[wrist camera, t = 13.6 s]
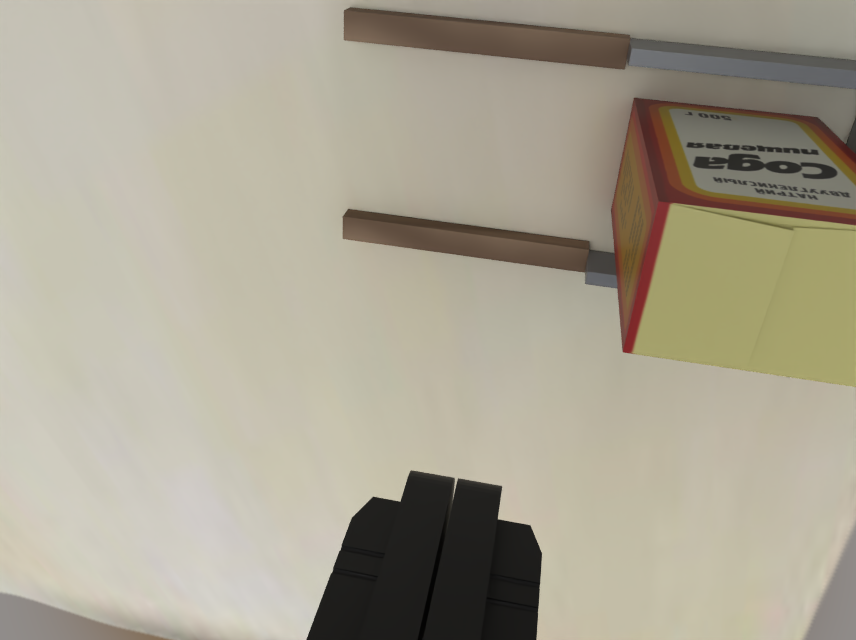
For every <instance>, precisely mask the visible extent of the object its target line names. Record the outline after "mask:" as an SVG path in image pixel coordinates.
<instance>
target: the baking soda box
mask: <svg viewBox="0 0 856 640" xmlns="http://www.w3.org/2000/svg"><path fill="white" fill-rule="evenodd" d="M611 214H612V227H613V239H614V251H615V263H616V276H617V288H618V300H619V312H620V325H621V337H622V349H623V352H625V353H631V354H638V355H645V356H652V357H658V358H665V359H672V360H678V361H685V362H692V363H699V364H705V365H712V366H719V367H725V368H732V369H739V370H745V371H752V372H759V373H766V374H772V375H779V376H786V377H792V378H799V379H806V380H813V381H819V382H826V383H833V384H839V385H846V386H853V387H856V154H855V153H854V152H853V151H852V150H851V149H850V148H849V147H848V146H847V145H846V144H845V143H844V142H843V141H841V140H840V139H839V138H838V137H837V136H836V135H835V134H834V133H833V132H832V131H831V130H830V129H829V128H828V127H827V126H826V125H825V124H824V123H823V122H822V121H821V120H820V119H819V118H818V117H810V116H800V115H791V114H781V113H772V112H762V111H753V110H744V109H734V108H725V107H715V106H706V105H697V104H687V103H678V102H668V101H659V100H649V99H640V98H634V101H633V105H632V110H631V115H630V120H629V125H628V130H627V135H626V140H625V145H624V150H623V155H622V160H621V164H620V169H619V174H618V179H617V184H616V189H615V194H614V199H613V204H612V209H611Z"/></svg>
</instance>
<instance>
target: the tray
mask: <svg viewBox="0 0 856 640" xmlns="http://www.w3.org/2000/svg"><path fill="white" fill-rule="evenodd" d="M627 61H628V65H629V66H638V67H648V68H658V69H667V70H677V71H686V72H696V73H706V74H715V75H725V76H735V77H744V78H754V79H764V80H773V81H783V82H792V83H802V84H812V85H821V86H831V87H841V88H850V89H856V61H855V60H845V59H835V58H825V57H815V56H805V55H795V54H785V53H775V52H765V51H754V50H744V49H734V48H724V47H714V46H704V45H694V44H684V43H674V42H664V41H654V40H644V39H634V38H630V44H629V50H628V55H627ZM846 145H847V146H848V147H849V148H850V149H851V150H852V151H853V152H854V153H855V154H856V119H855V122H854V125H853V127H852V130H851V133H850V136H849V138H848V141H847V144H846ZM585 284H589V285H596V286H604V287H611V288H617V276H616V263H615V253H607V252H600V251H592V250H589V254H588V259H587V264H586V269H585Z"/></svg>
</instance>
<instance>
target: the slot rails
mask: <svg viewBox="0 0 856 640" xmlns="http://www.w3.org/2000/svg"><path fill="white" fill-rule="evenodd" d="M344 40H347V41H357V42H367V43H376V44H386V45H395V46H405V47H414V48H424V49H433V50H443V51H453V52H462V53H472V54H481V55H491V56H500V57H510V58H520V59H529V60H539V61H548V62H558V63H567V64H577V65H587V66H596V67H606V68H615V69H625V65H626V60H627V55H628V50H629V44H630V35H624V34H614V33H604V32H594V31H584V30H574V29H564V28H553V27H543V26H533V25H523V24H513V23H503V22H493V21H483V20H472V19H462V18H452V17H442V16H432V15H422V14H412V13H402V12H391V11H381V10H371V9H361V8H351V7H350V8H348V9H346V10H344ZM343 239H348V240H355V241H362V242H369V243H377V244H384V245H391V246H398V247H405V248H412V249H420V250H427V251H434V252H441V253H448V254H456V255H463V256H470V257H477V258H484V259H492V260H499V261H506V262H513V263H520V264H527V265H535V266H542V267H549V268H556V269H563V270H571V271H578V272H585V269H586V264H587V259H588V254H589V241H581V240H574V239H566V238H559V237H551V236H544V235H536V234H529V233H521V232H514V231H506V230H499V229H491V228H484V227H477V226H469V225H462V224H454V223H447V222H439V221H432V220H424V219H417V218H409V217H402V216H394V215H387V214H379V213H372V212H365V211H357V210H350V209H348V210H347V212H346V213H345V214H344V216H343Z"/></svg>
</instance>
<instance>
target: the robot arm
mask: <svg viewBox="0 0 856 640" xmlns="http://www.w3.org/2000/svg"><path fill="white" fill-rule="evenodd" d="M454 484H455V478H452V477H446V476H441V475H435V474H429V473H424V472H418V471H412V470H411V471H410V473H409V476H408V479H407V482H406V486H405V489H404V492H403V496H402V499H401V502H399V501H393V500H388V499H382V498H377V497H373V498H372V499H370V500H369V501H368V502H367V503H366V504H365V505H364V506H363V507H362V508H361V509H360V510H359V511H358V512H357V513H356V514H355V515H354V516H353V517H352V519H351V522H350V524H349V527H348V530H347V532H346V535H345V538H344V540H343V543H342V547H341V551H339V554H338V557H337V559H336V562H335V565H334V567H333V572H332V573H331V575H330V578H329V581H328V583H327V586H326V589H325V591H324V594H323V597H322V599H321V602H320V605H319V608H318V610H317V613H316V616H315V618H314V621H313V624H312V626H311V629H310V632H309V634H308V637H307V640H536V637H537V622H538V606H539V591H540V589H539V586H540V576H541V560H542V552H541V550H540V547H539V545H538V543H537V540H536V538H535V535H534V533H533V531H532V528H531V526H530V525H526V524H520V523H515V522H509V521H504V520H498V512H499V505H500V498H501V491H502V486H498V485H492V484H487V483H481V482H476V481H470V480H464V479H459V478H458V481H457V485H456V489H455V494H454V499H453V493H454ZM452 502H453V503H452Z"/></svg>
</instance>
